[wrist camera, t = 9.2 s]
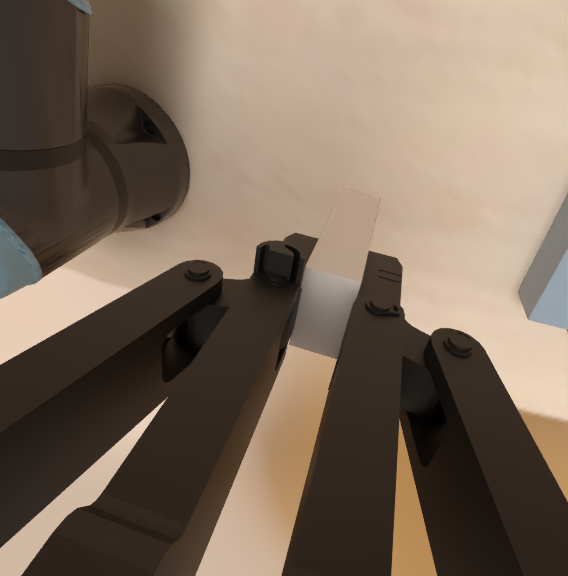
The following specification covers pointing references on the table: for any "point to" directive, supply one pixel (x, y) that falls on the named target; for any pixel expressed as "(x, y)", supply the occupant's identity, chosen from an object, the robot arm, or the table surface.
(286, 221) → the table surface
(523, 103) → the table surface
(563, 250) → the tee block
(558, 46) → the table surface
